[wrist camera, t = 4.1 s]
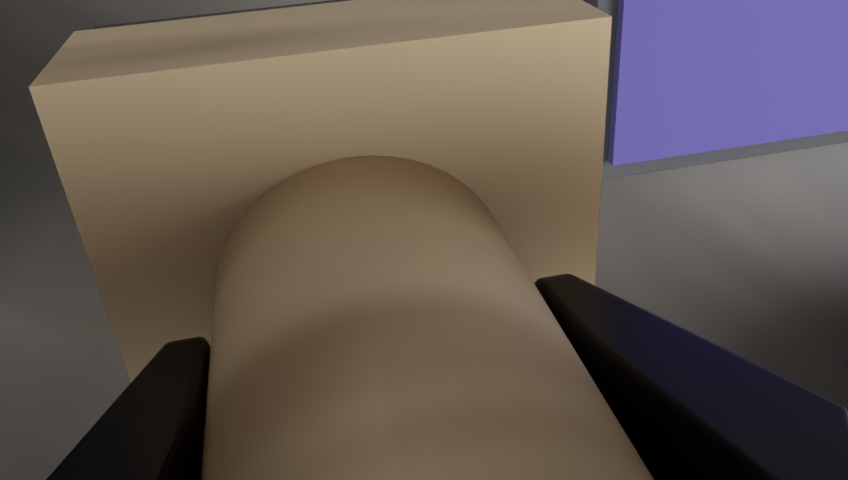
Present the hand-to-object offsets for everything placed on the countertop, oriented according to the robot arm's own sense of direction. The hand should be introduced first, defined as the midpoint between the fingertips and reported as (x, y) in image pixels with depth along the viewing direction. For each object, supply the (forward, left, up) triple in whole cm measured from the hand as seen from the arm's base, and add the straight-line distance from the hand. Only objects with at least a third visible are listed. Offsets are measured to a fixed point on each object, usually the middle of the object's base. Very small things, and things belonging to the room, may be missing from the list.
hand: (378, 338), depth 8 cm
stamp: (0, 0, -4) cm, 4 cm away
